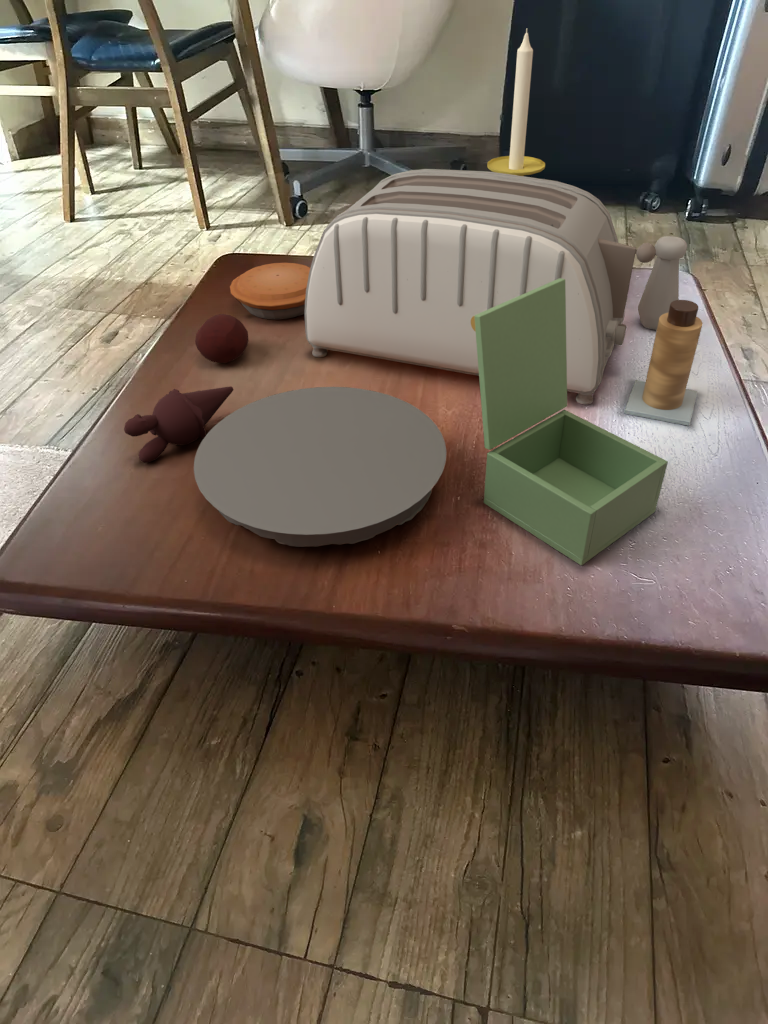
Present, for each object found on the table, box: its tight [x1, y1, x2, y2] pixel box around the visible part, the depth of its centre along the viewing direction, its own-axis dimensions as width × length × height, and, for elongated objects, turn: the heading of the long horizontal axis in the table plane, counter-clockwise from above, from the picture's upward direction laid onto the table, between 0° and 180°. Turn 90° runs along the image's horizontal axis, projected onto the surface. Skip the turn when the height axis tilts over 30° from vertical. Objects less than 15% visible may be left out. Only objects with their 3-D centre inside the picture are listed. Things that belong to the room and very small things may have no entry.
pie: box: [229, 262, 311, 320], centre depth 125 cm, size 15×16×5 cm
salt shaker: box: [637, 235, 688, 331], centre depth 114 cm, size 6×6×13 cm
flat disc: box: [193, 386, 447, 548], centre depth 88 cm, size 28×28×4 cm
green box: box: [483, 409, 669, 567], centre depth 83 cm, size 14×13×7 cm
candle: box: [486, 28, 546, 177], centre depth 115 cm, size 10×10×38 cm
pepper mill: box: [642, 299, 704, 410], centre depth 97 cm, size 5×5×13 cm
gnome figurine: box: [123, 386, 234, 464], centre depth 96 cm, size 7×7×15 cm
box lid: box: [471, 278, 568, 451], centre depth 82 cm, size 14×13×5 cm
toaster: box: [304, 168, 656, 406], centre depth 106 cm, size 21×45×22 cm, turn 68°
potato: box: [194, 313, 249, 364], centre depth 112 cm, size 8×9×6 cm
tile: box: [623, 379, 699, 427], centre depth 101 cm, size 8×8×1 cm
